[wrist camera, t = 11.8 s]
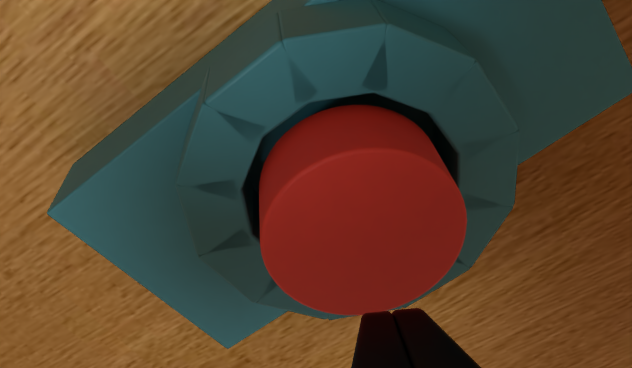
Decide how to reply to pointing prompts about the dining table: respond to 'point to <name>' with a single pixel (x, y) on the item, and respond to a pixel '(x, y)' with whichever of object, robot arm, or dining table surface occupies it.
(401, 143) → the button
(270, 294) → the button block
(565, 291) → the dining table surface
